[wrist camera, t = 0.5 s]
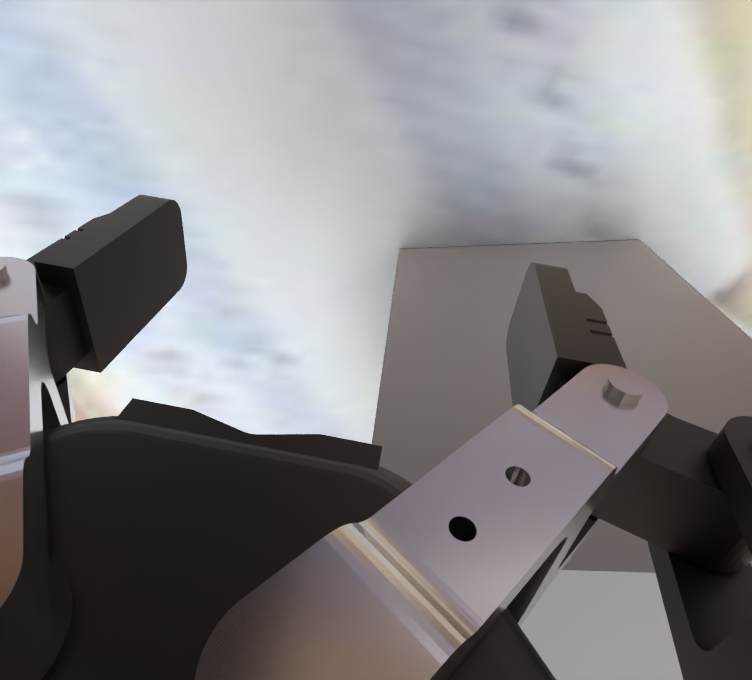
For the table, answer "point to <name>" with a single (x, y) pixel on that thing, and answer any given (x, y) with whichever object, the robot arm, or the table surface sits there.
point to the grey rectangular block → (493, 398)
